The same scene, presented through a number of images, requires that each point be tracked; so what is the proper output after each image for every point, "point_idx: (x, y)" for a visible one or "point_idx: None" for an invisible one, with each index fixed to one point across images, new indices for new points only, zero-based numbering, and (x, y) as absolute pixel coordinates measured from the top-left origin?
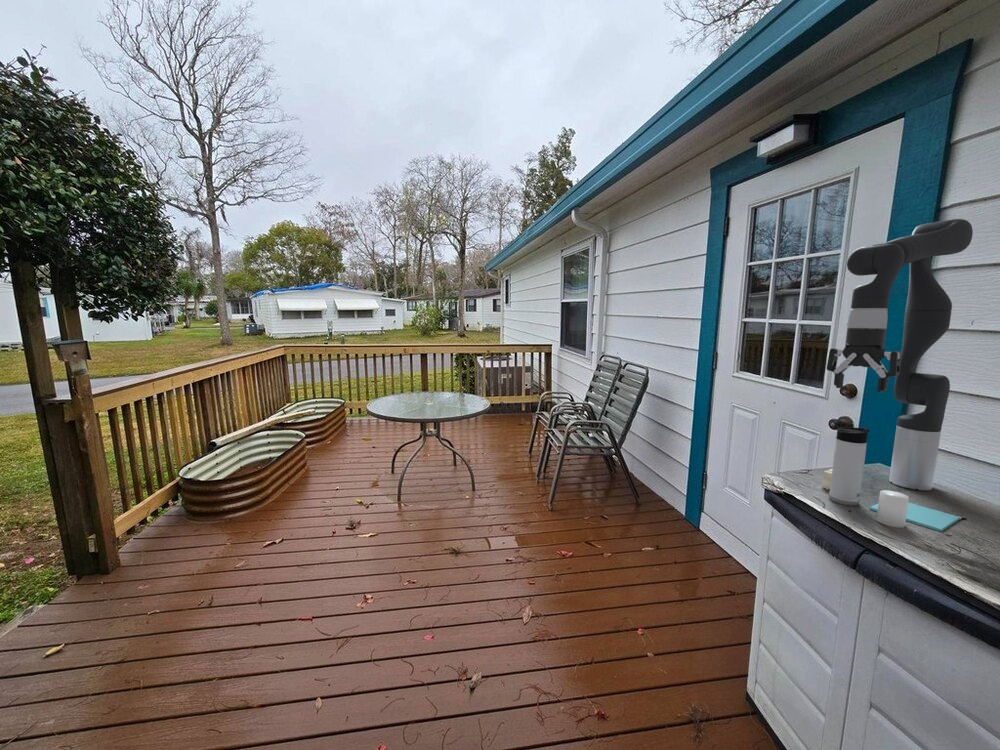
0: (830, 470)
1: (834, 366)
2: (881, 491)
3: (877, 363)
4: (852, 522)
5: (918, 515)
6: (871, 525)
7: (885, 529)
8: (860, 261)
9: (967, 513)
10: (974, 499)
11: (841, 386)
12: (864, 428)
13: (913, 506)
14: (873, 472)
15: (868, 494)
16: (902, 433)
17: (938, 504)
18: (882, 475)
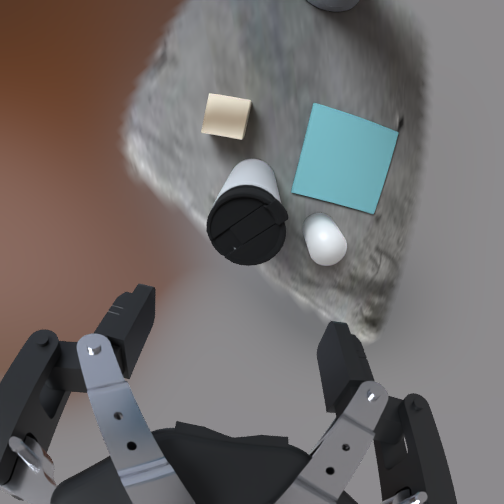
0: (209, 112)
1: (52, 369)
2: (311, 247)
3: (331, 463)
4: (276, 269)
5: (352, 173)
6: (298, 261)
7: (313, 261)
8: None
9: (405, 90)
10: (408, 9)
11: (152, 302)
12: (274, 213)
13: (346, 128)
14: None
15: (280, 100)
16: None
17: (374, 71)
18: None
